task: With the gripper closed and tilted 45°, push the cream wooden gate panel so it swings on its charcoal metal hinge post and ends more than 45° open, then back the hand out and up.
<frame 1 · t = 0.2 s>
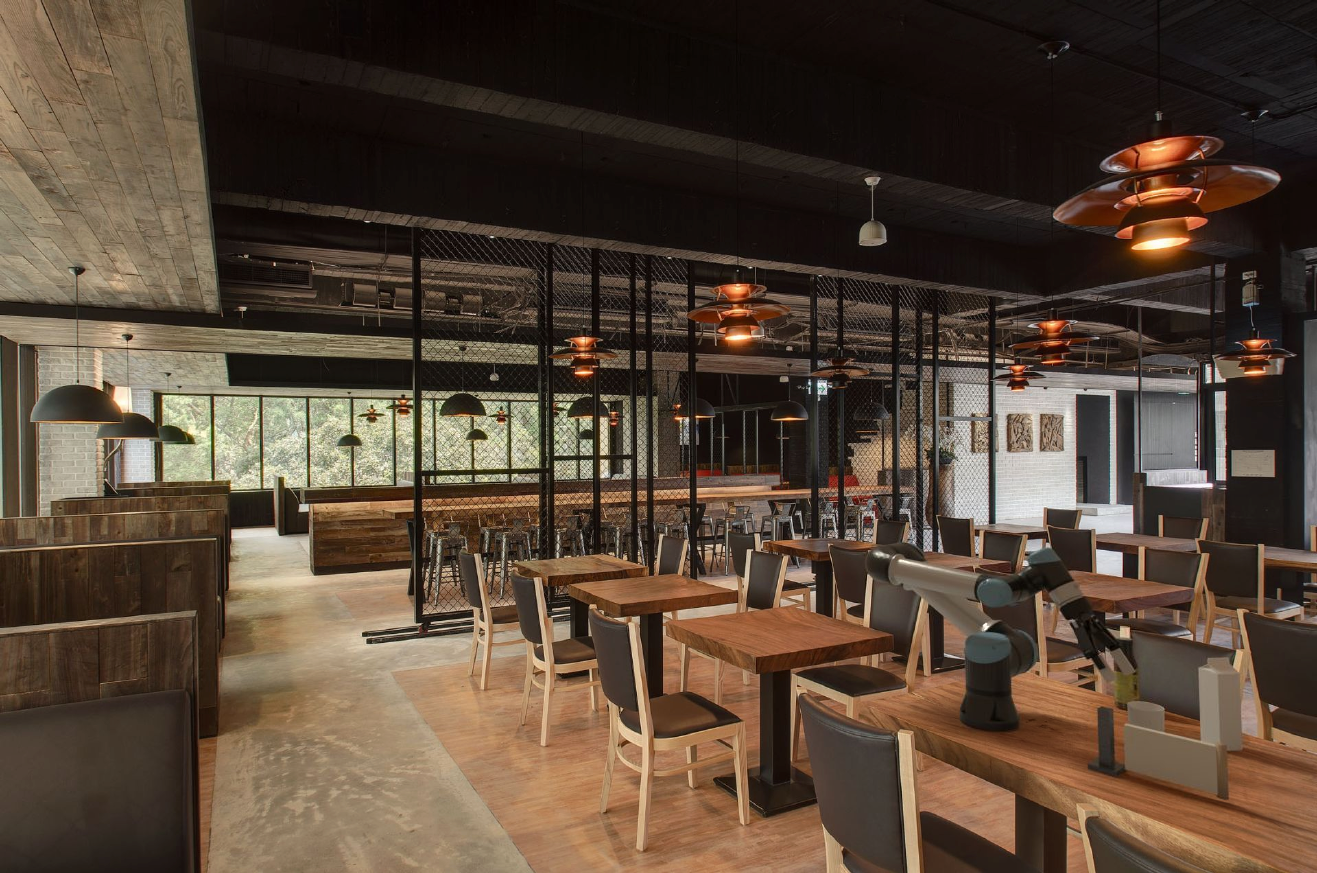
hand: (1121, 677, 190), 16 cm above the table, fingers open, 13 cm apart
sauce bottle: (1127, 708, 215), on the table
gate post: (1107, 769, 172), on the table
white cup: (1147, 747, 186), on the table
milk: (1221, 747, 185), on the table
gate panel: (1174, 758, 162), point 7 cm above the table, hinge at 0.0°
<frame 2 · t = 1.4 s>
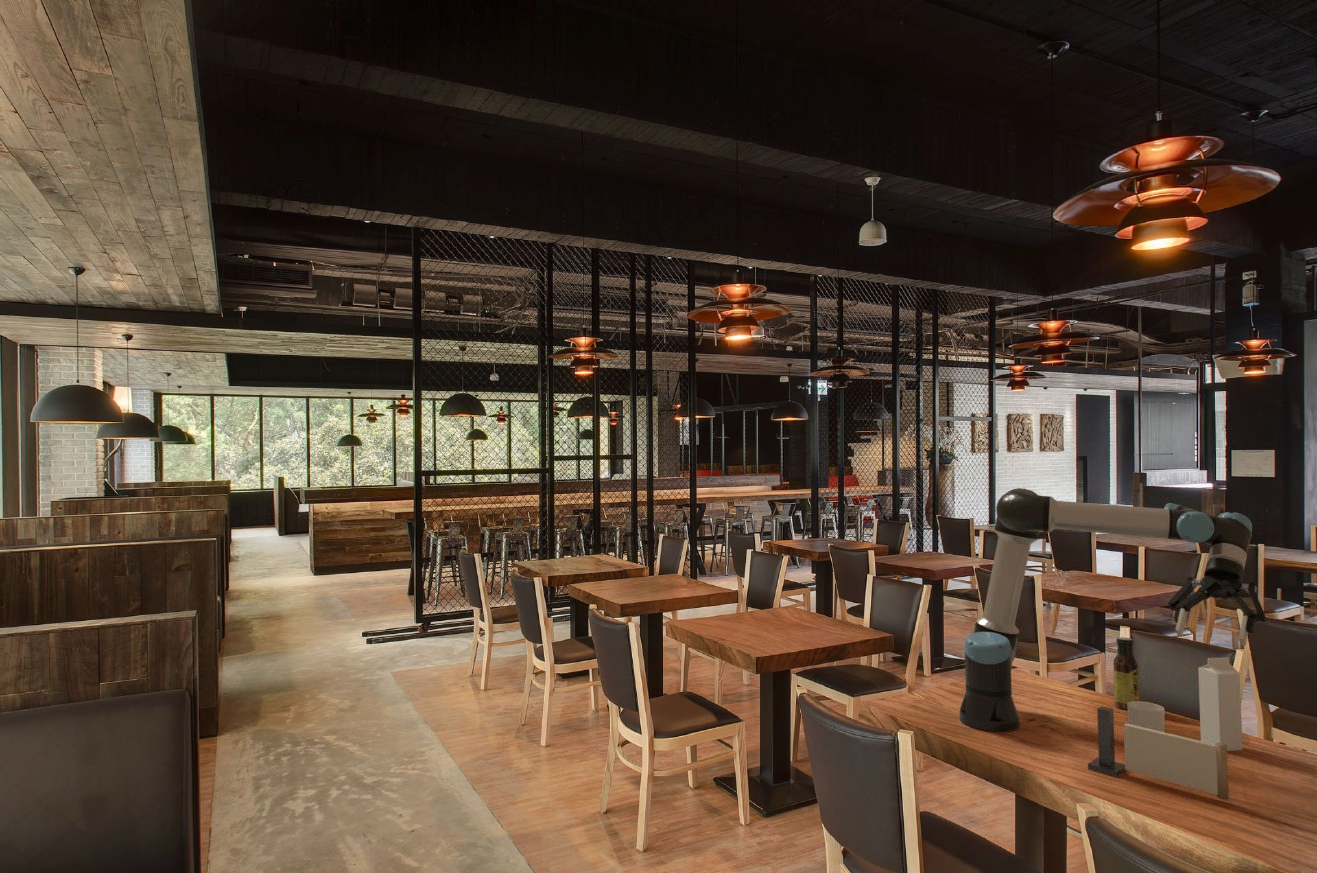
hand: (1209, 637, 175), 30 cm above the table, fingers open, 12 cm apart
nothing on the table moved.
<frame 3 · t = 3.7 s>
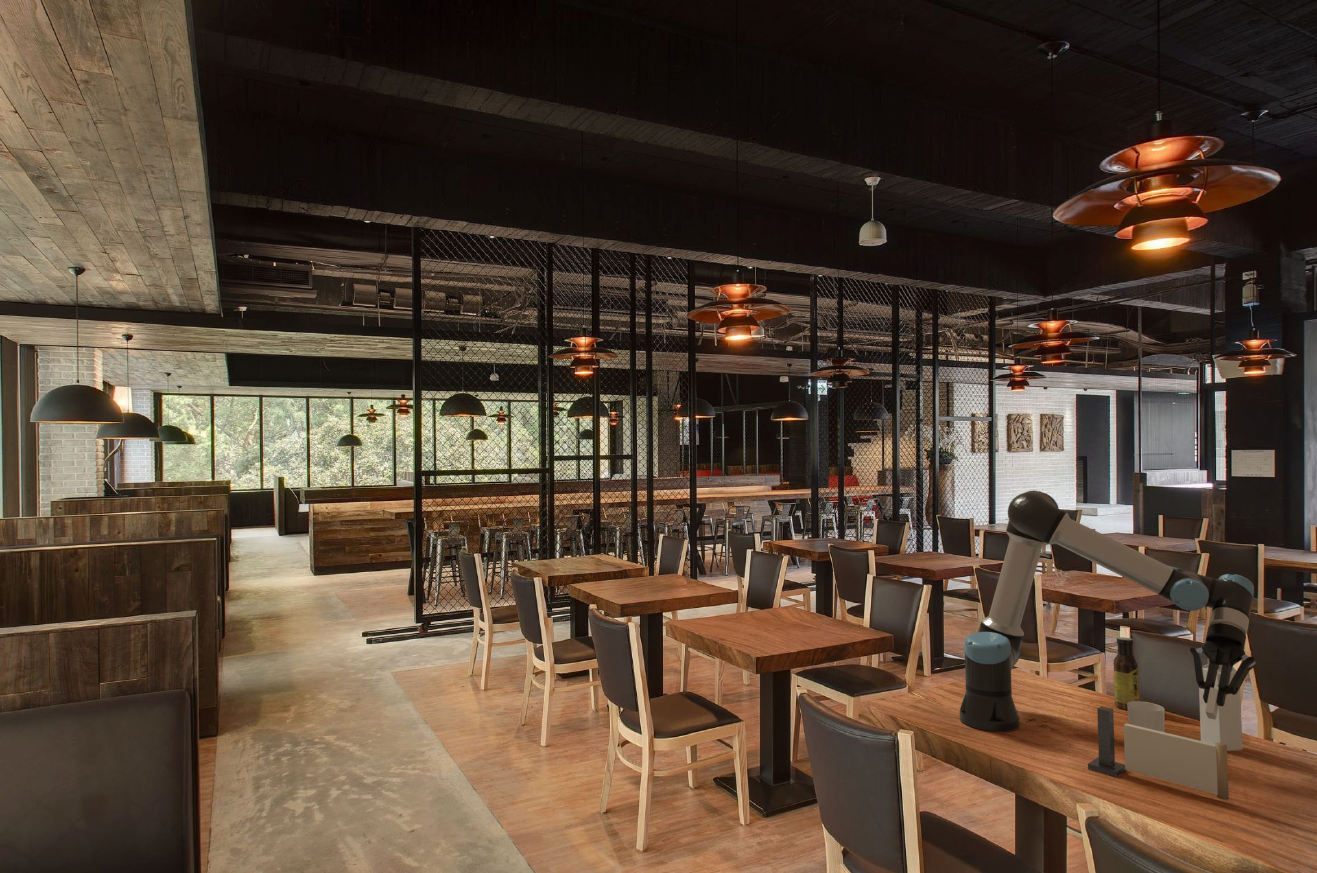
hand: (1210, 715, 170), 13 cm above the table, fingers closed
nothing on the table moved.
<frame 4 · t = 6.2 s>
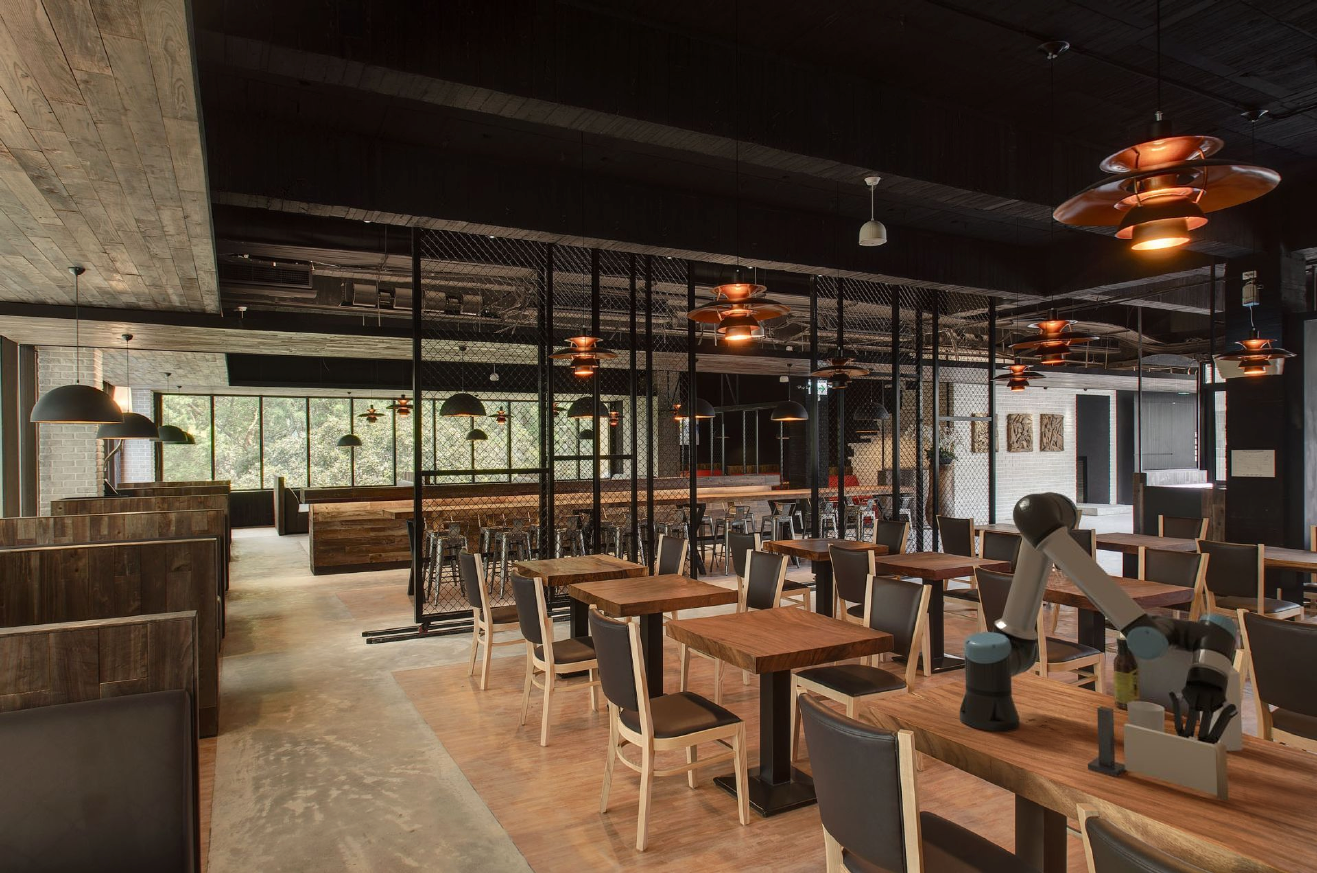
hand: (1189, 767, 161), 5 cm above the table, fingers closed
gate panel: (1173, 759, 162), point 7 cm above the table, hinge at 1.2°, touching gripper
everything else where it was.
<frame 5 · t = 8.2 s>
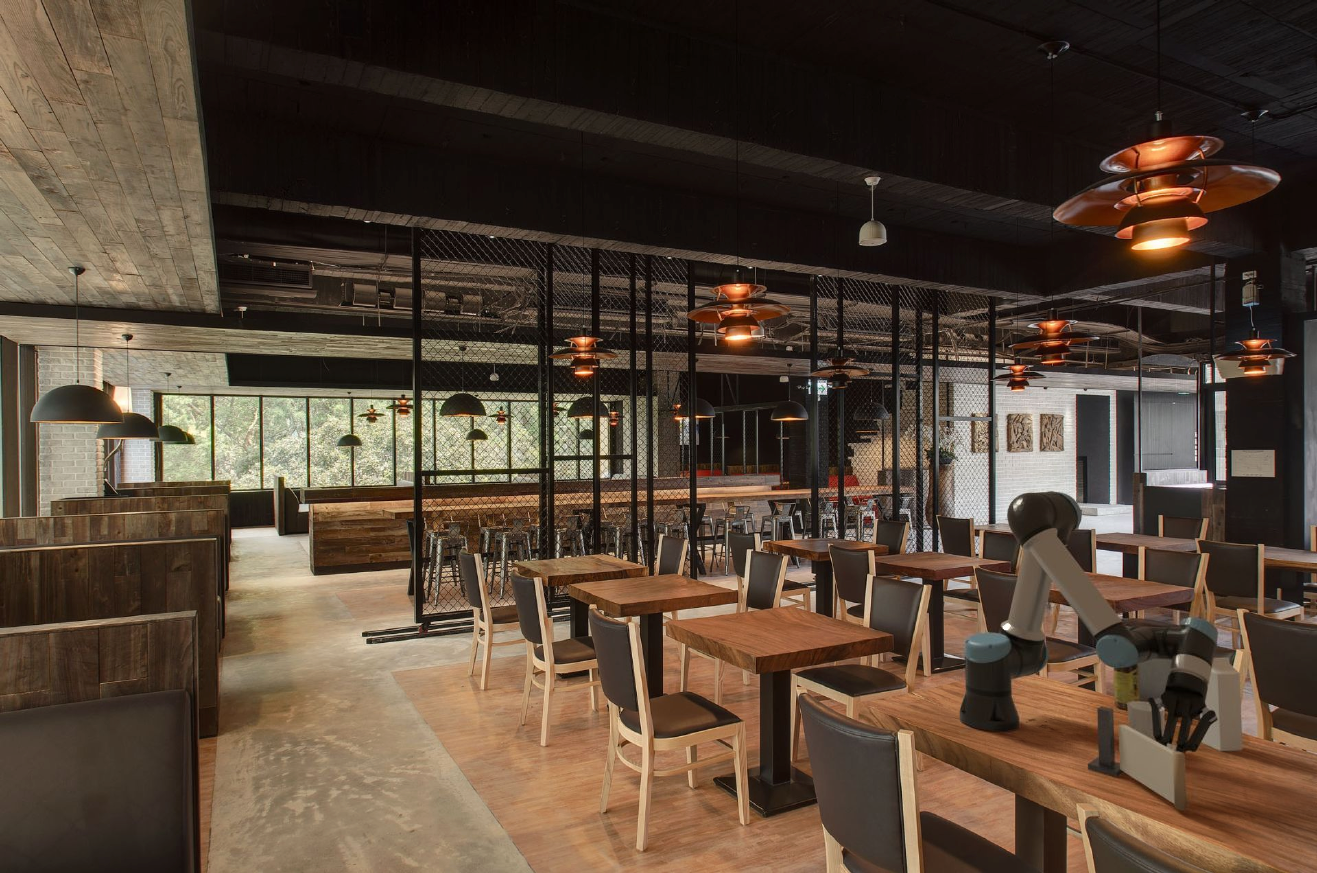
hand: (1167, 775, 157), 5 cm above the table, fingers closed
gate panel: (1151, 763, 159), point 7 cm above the table, hinge at 38.3°, touching gripper
everything else where it was.
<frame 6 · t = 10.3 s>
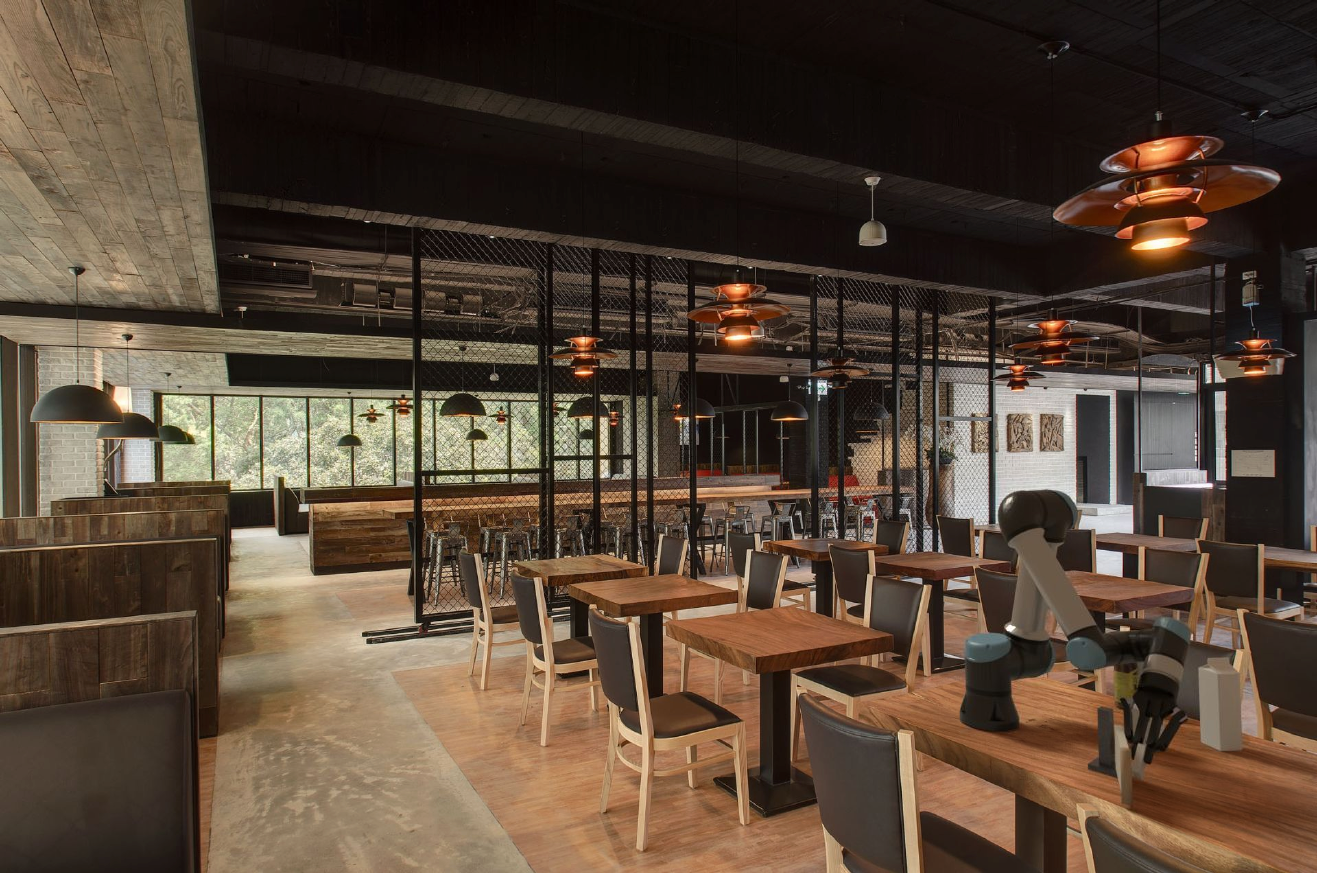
hand: (1136, 775, 158), 5 cm above the table, fingers closed
gate panel: (1122, 761, 160), point 7 cm above the table, hinge at 67.1°, touching hand
everything else where it was.
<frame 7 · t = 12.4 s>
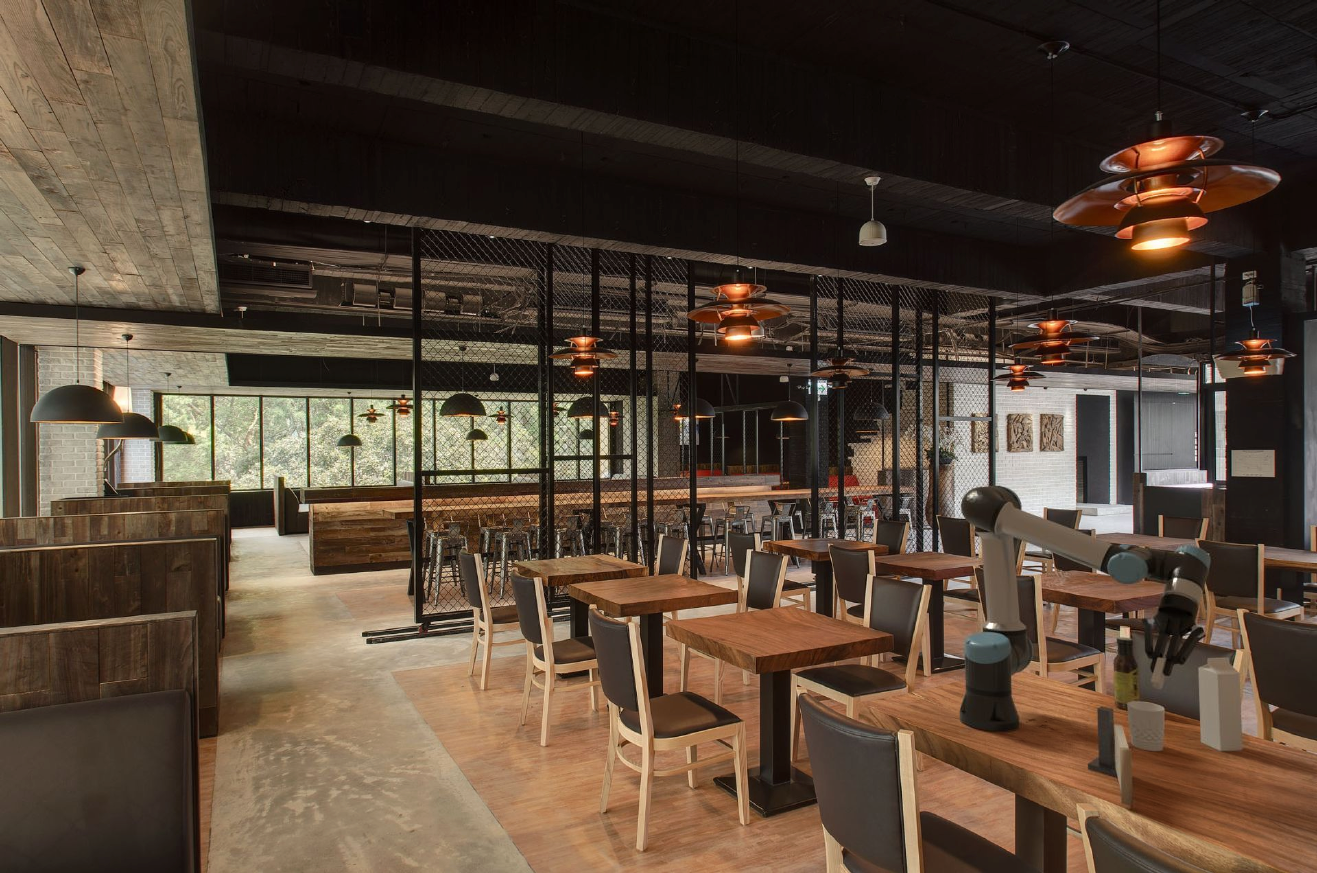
hand: (1156, 685, 169), 21 cm above the table, fingers closed
gate panel: (1122, 761, 160), point 7 cm above the table, hinge at 67.1°
everything else where it was.
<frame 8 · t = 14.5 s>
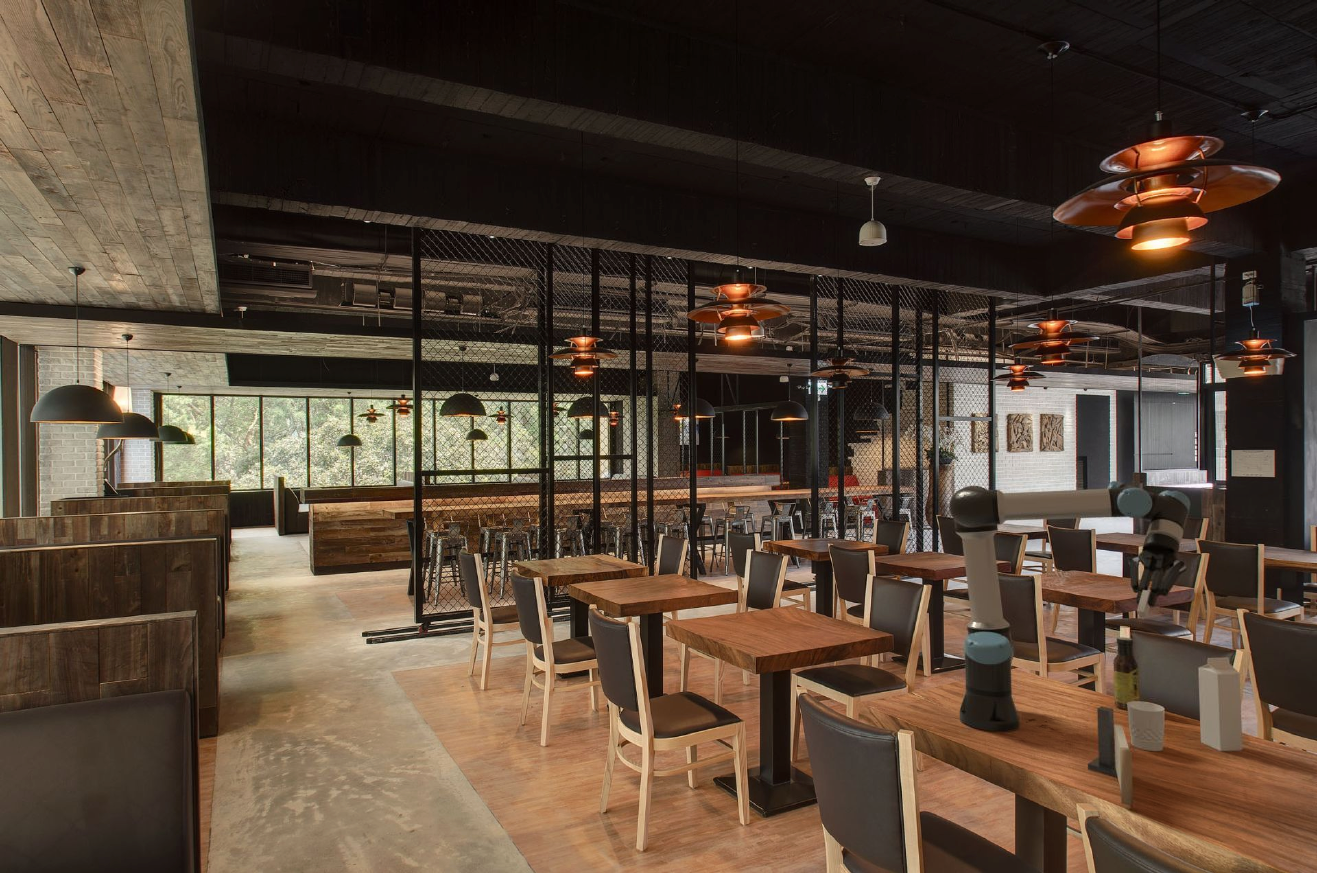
hand: (1141, 614, 181), 34 cm above the table, fingers closed
nothing on the table moved.
at the end: gate panel at +67° (first picture: +0°) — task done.
